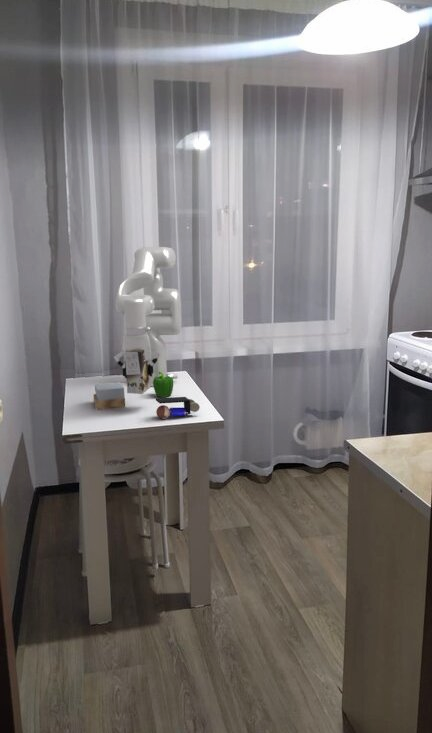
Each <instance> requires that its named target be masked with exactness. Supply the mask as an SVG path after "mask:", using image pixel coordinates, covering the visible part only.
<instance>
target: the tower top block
mask: <svg viewBox="0 0 432 733" xmlns="http://www.w3.org/2000/svg"><path fill="white" fill-rule="evenodd" d="M94 394H96V396H97V398H98V401H99V400H109V399H120V398H125V386H123V384H122V382H120V381H117V382H107V383H106V382H105V383H95V384H94ZM125 399H126V398H125Z"/></svg>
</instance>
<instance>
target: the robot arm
mask: <svg viewBox="0 0 432 733" xmlns="http://www.w3.org/2000/svg"><path fill="white" fill-rule="evenodd" d="M133 256H134V262H133V268H132V274H130V275H128V277H126V278H125V279H124V280H123V281H122V282H121V283H120V285H119V286H118V289H117V292H116V299H115V310H116V312H117V313H118V314H119V315H122V316H123V315H124V325H125V334H124V335H123V339H122V350H121V352H119V353H118V354H116V355H115V356H114V355H113V356H114V357H113V359H114V360H115V362H116V363H117V365H118V366H120V367H121V370H122V377H124V378H125V379H126V380H127V376H126V355H125V351H134V350H144V353H145V361H148V362H149V365H148V368H149V376H150V388H151V387H153V388H154V386H153V380H154V377H159V376H162V375H161V374H159V372H162V373H163V374H164V377H167V376H170V377H171V378H172V379H173V380H174V379H175V380H176V379H178V374H177V373H176V374H175V373H168V370H167V369H168V368H167V345H166V342H165V340H164V339H163V337H161V336H176V335H179V334H180V333H181V330H182V308H181V307H182V306H181V305H182V300H181V295H180V292H179V290H178V289H176V288H173V287H172V288H171V287H170V288H169V287H168V288H164V278H163V274H162V273H161V272H160V270H159V269H172V268H174V267H175V265H176V261H177V259H176V258H177V256H176V252H175V250H174V249H173V248H172V247H167V246H146V247H141V248H138V249H136V250H135V251H134V255H133ZM141 289H143V294H132V293H134V292H136V291H139V290H141ZM153 311H169V312H170V313H162V312H161V313H159V312H158V313H152V312H153ZM121 357H122V358H123V361H121V360H120V358H121Z"/></svg>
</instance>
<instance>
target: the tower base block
mask: <svg viewBox="0 0 432 733" xmlns="http://www.w3.org/2000/svg"><path fill="white" fill-rule="evenodd" d="M93 404H94V406H95V410H96V411H101V410H102V411H103V410H113V409H124V408H126V398H120V399H109V400H99V401H98V398H97V396H96V394H95V393H93Z"/></svg>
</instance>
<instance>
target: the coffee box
mask: <svg viewBox="0 0 432 733" xmlns="http://www.w3.org/2000/svg"><path fill="white" fill-rule="evenodd" d="M125 355H126V376H127V379H126V393H127V394H135V395H144V393H146V392H147V391H148V390H149V389H150V388H151V386H150V376H149V368H148V365H149V362H148V361H145V353H144V350H134V351H125Z"/></svg>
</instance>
